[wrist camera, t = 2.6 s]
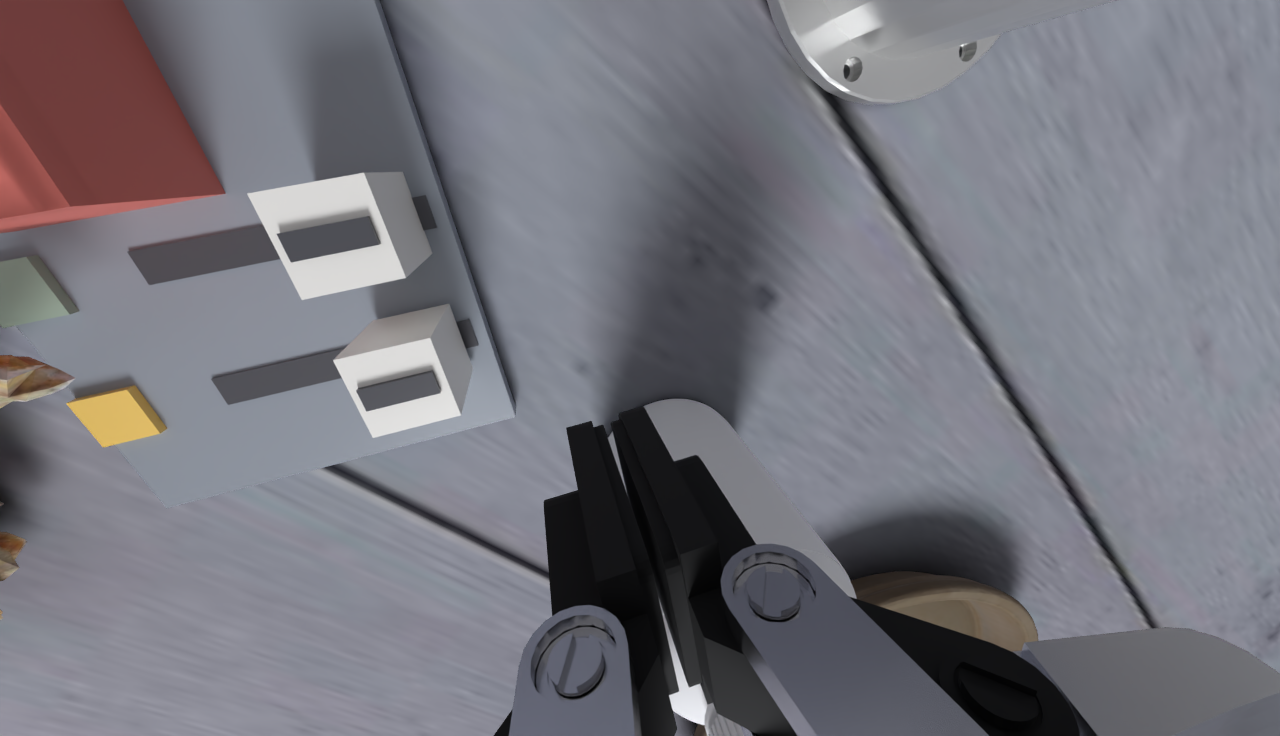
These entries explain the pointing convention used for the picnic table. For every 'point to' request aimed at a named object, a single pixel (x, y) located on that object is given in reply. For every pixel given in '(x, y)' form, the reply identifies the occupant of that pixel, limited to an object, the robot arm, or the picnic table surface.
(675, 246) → the picnic table surface
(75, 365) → the breaker panel
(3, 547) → the pine cone
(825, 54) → the robot arm
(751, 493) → the pill bottle
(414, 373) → the breaker toggle
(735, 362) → the picnic table surface
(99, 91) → the cap
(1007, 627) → the plant saucer
